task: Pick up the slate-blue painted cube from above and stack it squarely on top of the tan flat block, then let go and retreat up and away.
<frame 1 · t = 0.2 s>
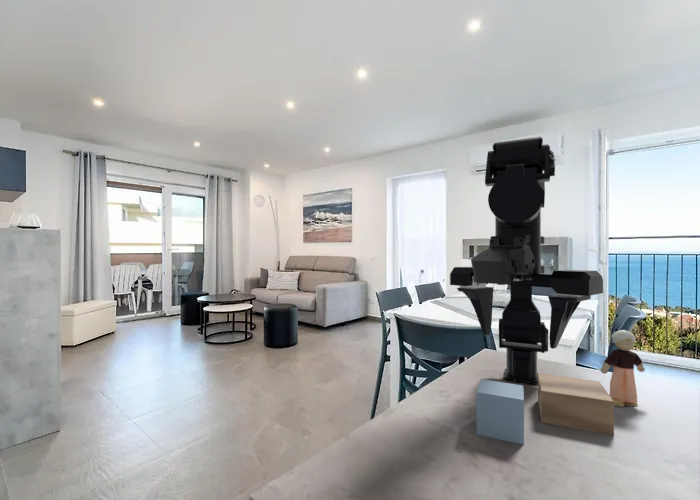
hand: (517, 341, 48), 13 cm above the countertop, fingers open, 9 cm apart
slate-blue cube: (500, 430, 50), on the countertop
grandmother figurine: (624, 404, 60), on the countertop
tan flat block: (571, 417, 55), on the countertop
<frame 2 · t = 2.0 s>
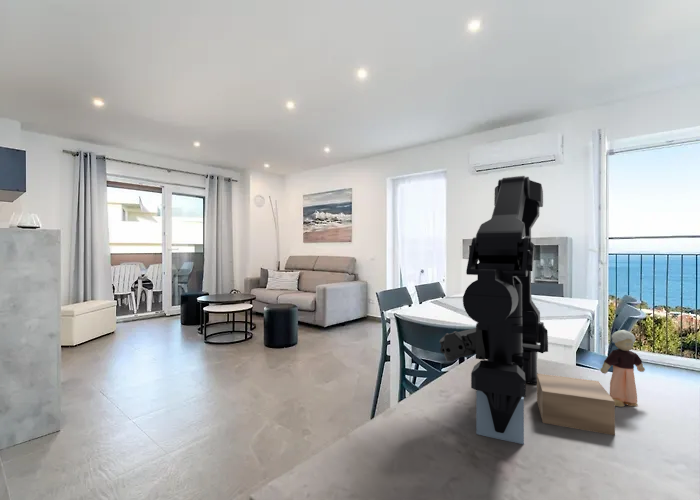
hand: (500, 422, 50), 1 cm above the countertop, fingers closed on slate-blue cube, 6 cm apart
slate-blue cube: (500, 429, 50), on the countertop, touching gripper
everything else where it was.
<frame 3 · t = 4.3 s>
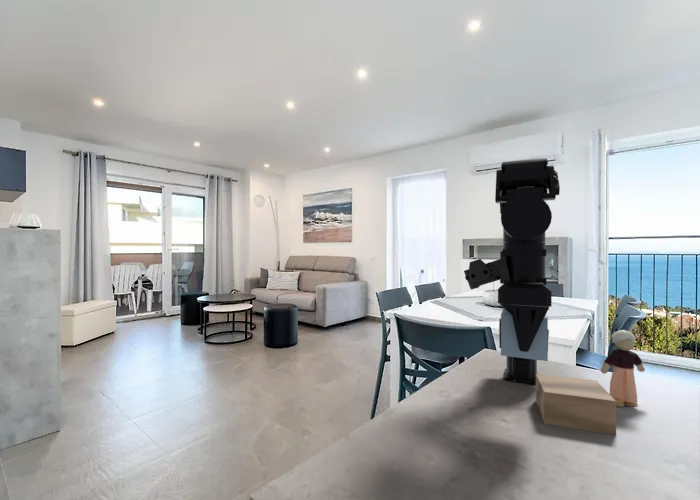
hand: (523, 346, 52), 12 cm above the countertop, fingers closed on slate-blue cube, 6 cm apart
slate-blue cube: (523, 352, 52), point 11 cm above the countertop, touching gripper
everything else where it was.
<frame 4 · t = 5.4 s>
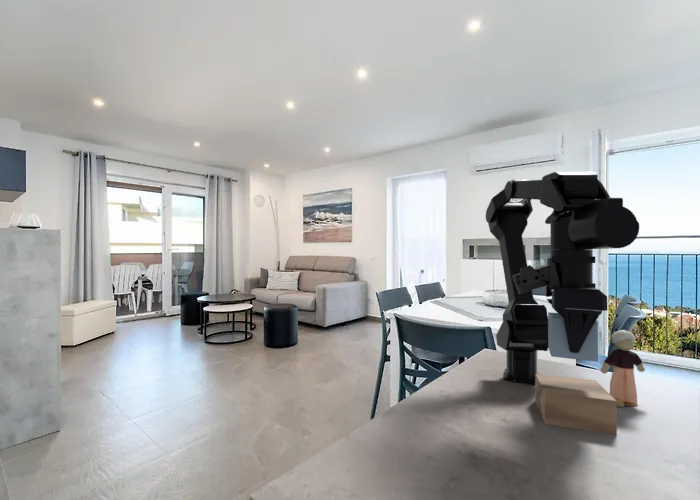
hand: (571, 347, 55), 11 cm above the countertop, fingers closed on slate-blue cube, 6 cm apart
slate-blue cube: (571, 354, 55), point 10 cm above the countertop, touching gripper
everything else where it was.
when the fingers open (7 cm above the countertop, at t = 6.5 s): slate-blue cube drops 2 cm, point 5 cm above the countertop.
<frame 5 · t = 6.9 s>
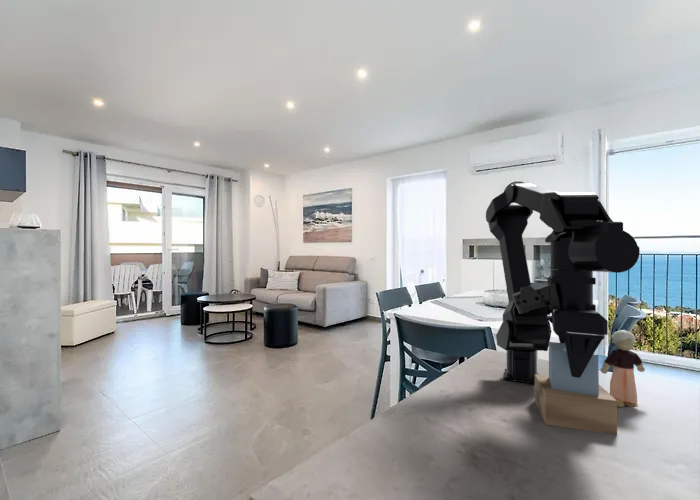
hand: (571, 368, 55), 7 cm above the countertop, fingers open, 9 cm apart
slate-blue cube: (572, 385, 55), point 5 cm above the countertop
everything else where it was.
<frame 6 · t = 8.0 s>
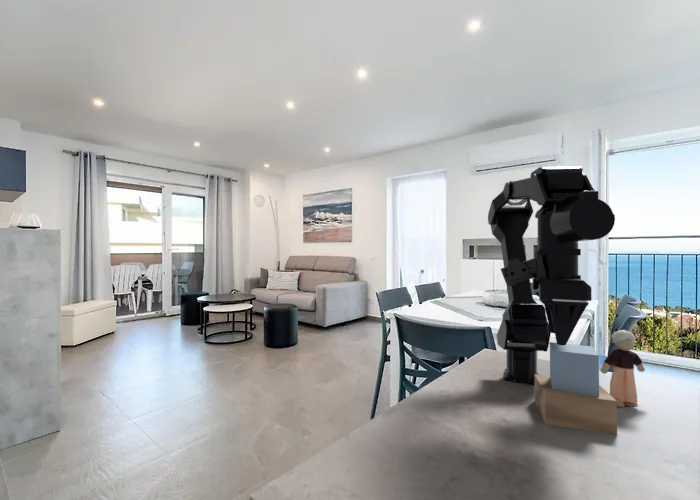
hand: (557, 338, 57), 12 cm above the countertop, fingers open, 9 cm apart
slate-blue cube: (572, 386, 55), point 5 cm above the countertop, touching tan flat block
tan flat block: (571, 418, 55), on the countertop, touching slate-blue cube
everything else where it was.
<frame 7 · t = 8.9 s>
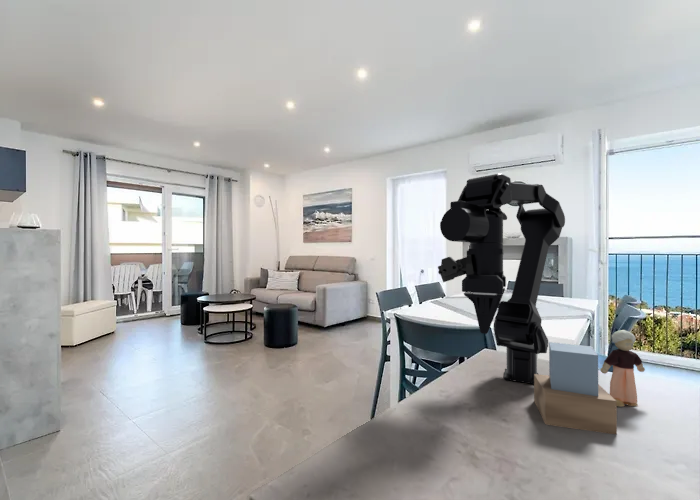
hand: (486, 328, 64), 12 cm above the countertop, fingers open, 9 cm apart
nothing on the countertop moved.
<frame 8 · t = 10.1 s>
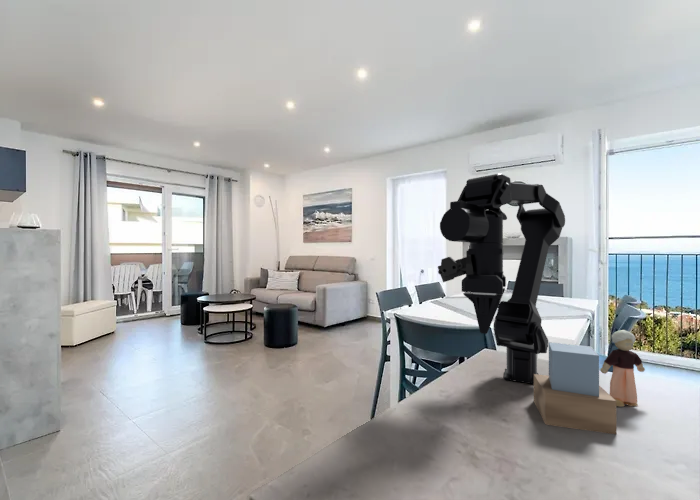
hand: (485, 328, 64), 12 cm above the countertop, fingers open, 9 cm apart
slate-blue cube: (572, 386, 55), point 5 cm above the countertop
tan flat block: (570, 417, 55), on the countertop
everything else where it was.
at the end: slate-blue cube 0.2 cm off-centre on the tan flat block, point 5.0 cm above the tan flat block's base; slate-blue cube tilted 0°; the gripper is holding nothing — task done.
